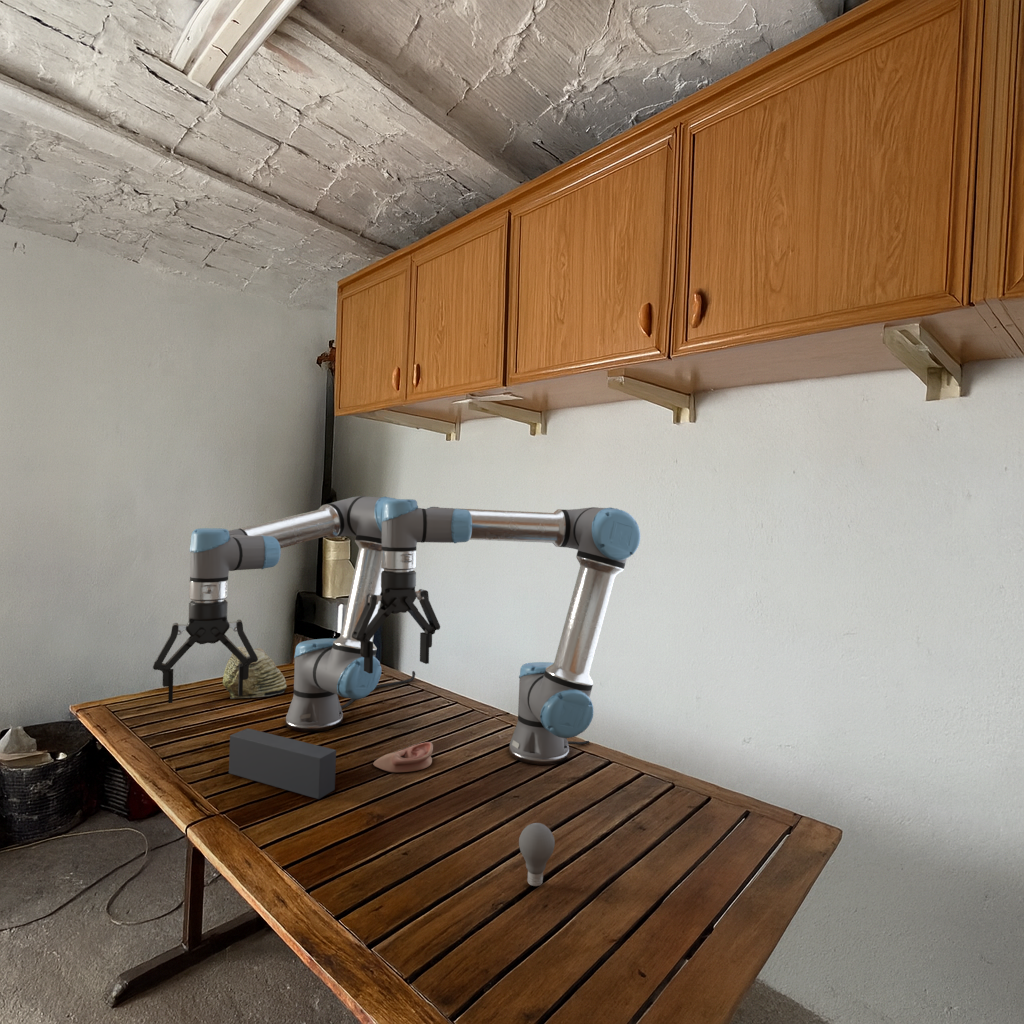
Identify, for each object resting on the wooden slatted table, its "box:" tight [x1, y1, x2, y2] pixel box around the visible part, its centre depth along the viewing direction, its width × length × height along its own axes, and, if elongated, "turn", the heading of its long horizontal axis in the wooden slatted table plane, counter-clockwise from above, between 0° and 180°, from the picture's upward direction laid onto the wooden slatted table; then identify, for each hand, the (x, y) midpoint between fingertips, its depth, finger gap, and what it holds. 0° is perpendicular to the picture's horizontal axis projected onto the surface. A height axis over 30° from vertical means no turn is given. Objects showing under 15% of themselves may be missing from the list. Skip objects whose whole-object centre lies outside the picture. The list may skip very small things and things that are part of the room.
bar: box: [228, 727, 337, 800], centre depth 140 cm, size 26×5×9 cm, turn 66°
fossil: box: [222, 646, 288, 699], centre depth 198 cm, size 9×18×15 cm, turn 132°
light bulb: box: [518, 822, 556, 887], centre depth 106 cm, size 6×6×10 cm
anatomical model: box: [372, 741, 434, 773], centre depth 152 cm, size 13×4×12 cm
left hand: (206, 697), depth 137 cm, fingers open, 13 cm apart
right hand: (397, 667), depth 138 cm, fingers open, 13 cm apart
